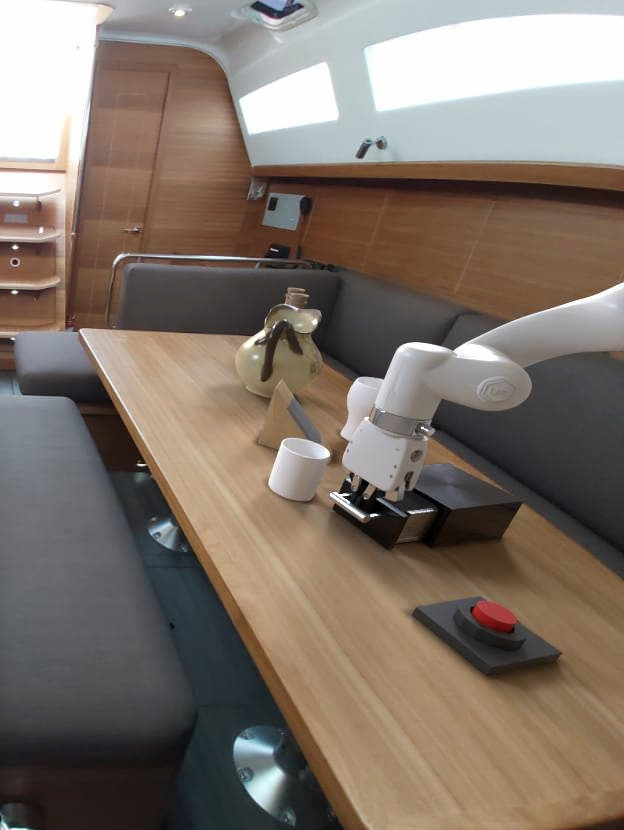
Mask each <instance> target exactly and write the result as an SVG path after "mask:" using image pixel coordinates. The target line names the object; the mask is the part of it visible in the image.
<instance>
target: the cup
mask: <svg viewBox="0 0 624 830" xmlns="http://www.w3.org/2000/svg"><path fill="white" fill-rule="evenodd" d="M383 381H384V378H379V377H369V376H360V377H357V378H356V379H355V380H354V382H353V384H352V385H351V386H350V388H349V391H348V393H347V396H346V407H347V412H348V416H347V420H346V423H345V424H344V427H343V428H342V430H341V431H340V432H339V433H340V436H341V437H342V438H343V439H344V440H346V441H348V442H350V440H351V438H352V436H353V434H354V433H355V431H356V430H357V428H358V427H359V425H360V424H361V422H362V421H363V420H364V419H365V418H366V417H369V415H370V412H371V410H372V407H373V405H374V403H375V400H376V398H377V395H378V393H379V391H380V388H381V386H382V384H383Z"/></svg>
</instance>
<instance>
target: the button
mask: <svg viewBox="0 0 624 830" xmlns="http://www.w3.org/2000/svg"><path fill="white" fill-rule="evenodd" d="M472 615H473V617H474V618H475V619H476V620H478V621H479V622H480V623H482V624H483V625H485V626H487V627H489V628H491V629H493V630H495V631H499V632H503V633H509V632H510V631H511V630H512V629H513V627H514V626H515V624H516V623H517V620H518V618H517V616H516V615H515V614H514V613H513V612H512V611H510V610H509V609H508V608H506V607H504V606H502V605H500V604H498V603H495V602H493V601H489V600H487V601H479V602H478V603H477V605H476V606H475V608H474V609H473V611H472Z"/></svg>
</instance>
